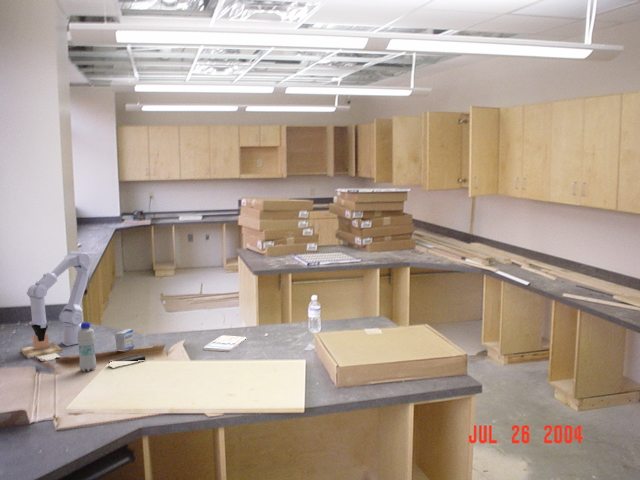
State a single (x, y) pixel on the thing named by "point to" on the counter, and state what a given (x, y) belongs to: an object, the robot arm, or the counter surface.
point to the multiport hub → (132, 358)
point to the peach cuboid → (40, 344)
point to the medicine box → (124, 339)
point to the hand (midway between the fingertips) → (40, 340)
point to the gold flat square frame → (41, 350)
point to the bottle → (86, 347)
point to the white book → (224, 343)
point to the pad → (49, 356)
